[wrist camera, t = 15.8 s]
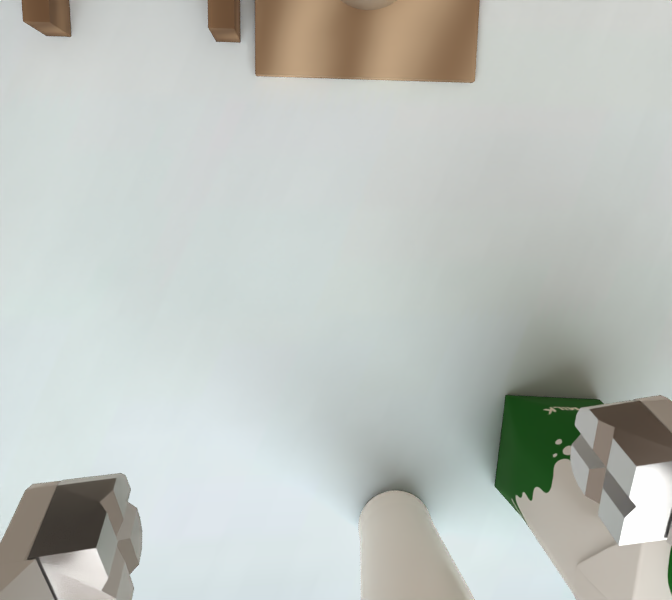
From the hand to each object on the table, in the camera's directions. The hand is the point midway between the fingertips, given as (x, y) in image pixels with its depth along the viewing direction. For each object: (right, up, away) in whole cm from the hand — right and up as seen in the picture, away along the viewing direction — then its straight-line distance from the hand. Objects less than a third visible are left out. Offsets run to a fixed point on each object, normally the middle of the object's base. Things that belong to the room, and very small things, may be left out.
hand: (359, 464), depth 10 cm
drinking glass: (+4, -13, +33) cm, 35 cm away
